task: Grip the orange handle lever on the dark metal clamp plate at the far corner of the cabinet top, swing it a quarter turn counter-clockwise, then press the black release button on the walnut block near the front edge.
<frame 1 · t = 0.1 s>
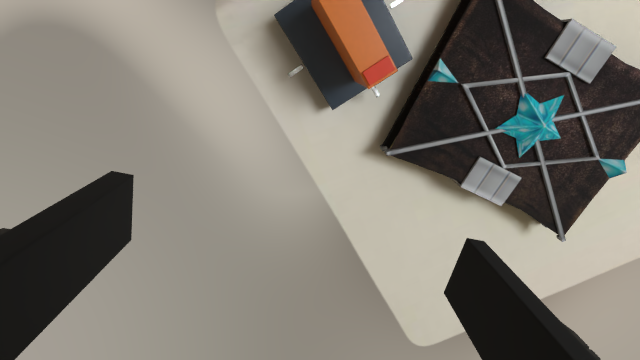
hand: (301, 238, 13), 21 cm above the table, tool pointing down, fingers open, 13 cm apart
orange handle lever: (350, 34, 24), point 6 cm above the table, hinge at 0.0°
book: (510, 116, 33), on the table
clamp plate: (342, 38, 30), on the table
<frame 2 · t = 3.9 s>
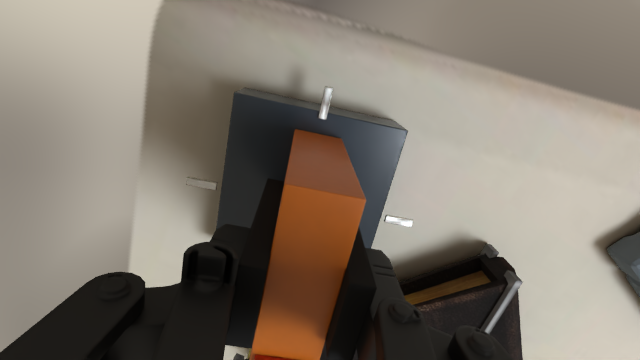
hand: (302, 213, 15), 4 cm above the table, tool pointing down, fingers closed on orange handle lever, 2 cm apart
orange handle lever: (301, 240, 13), point 6 cm above the table, hinge at 0.0°, touching gripper
clamp plate: (304, 183, 19), on the table
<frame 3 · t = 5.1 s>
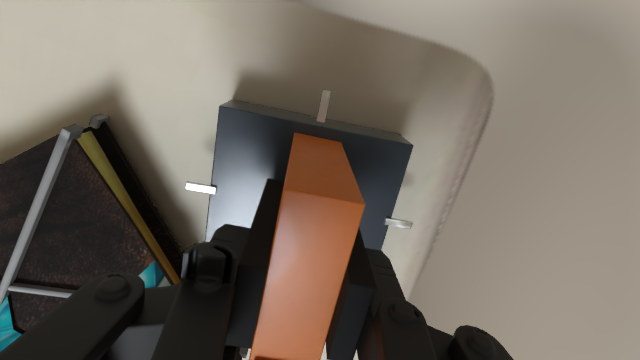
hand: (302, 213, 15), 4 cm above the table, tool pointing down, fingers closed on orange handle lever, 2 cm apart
orange handle lever: (301, 244, 13), point 6 cm above the table, hinge at 89.3°, touching gripper
book: (37, 295, 21), on the table
clamp plate: (303, 187, 19), on the table
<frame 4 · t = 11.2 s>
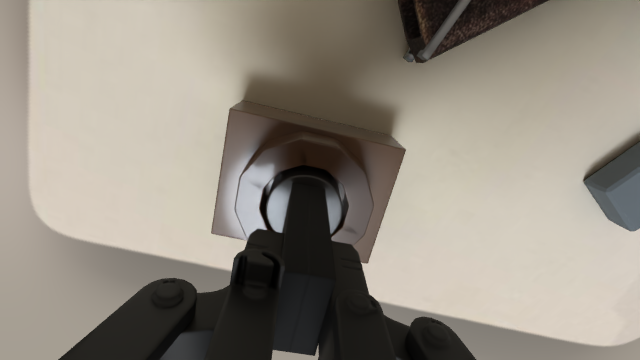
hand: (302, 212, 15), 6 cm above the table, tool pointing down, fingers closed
release button: (304, 203, 16), point 5 cm above the table, slide at -0.8 cm, touching gripper
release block: (305, 173, 21), on the table
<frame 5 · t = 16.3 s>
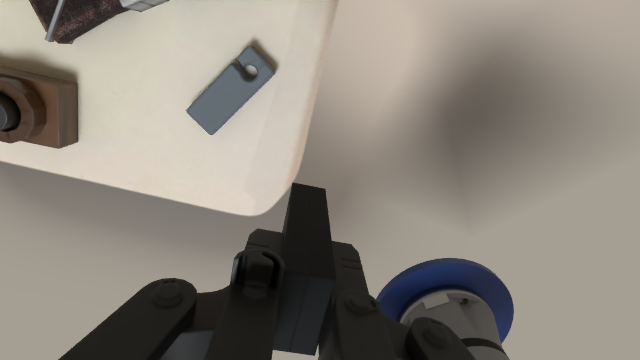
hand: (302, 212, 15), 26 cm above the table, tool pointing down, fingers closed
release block: (36, 104, 39), on the table
bracket: (233, 90, 39), on the table
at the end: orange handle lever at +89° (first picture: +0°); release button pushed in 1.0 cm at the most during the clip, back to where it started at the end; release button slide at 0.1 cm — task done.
